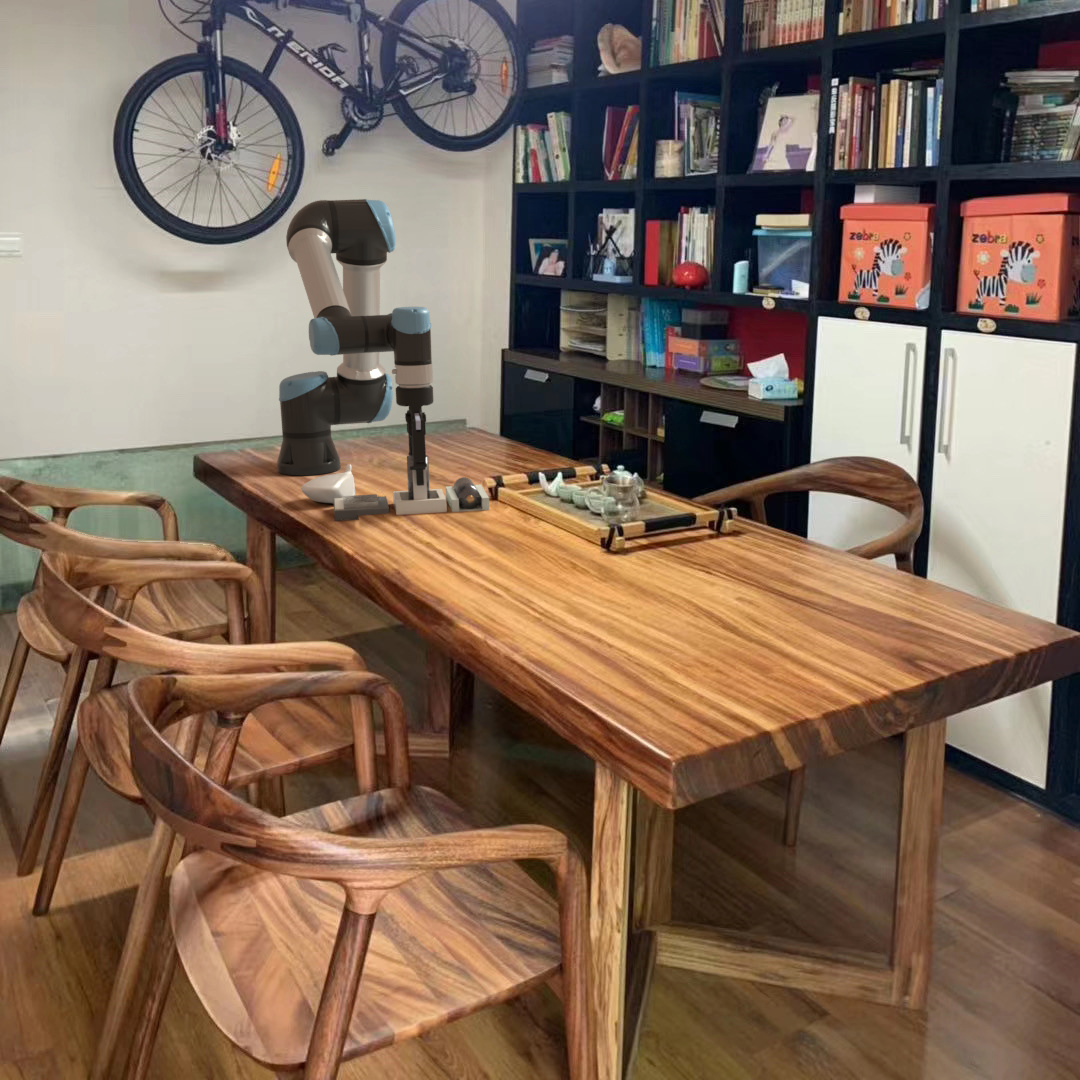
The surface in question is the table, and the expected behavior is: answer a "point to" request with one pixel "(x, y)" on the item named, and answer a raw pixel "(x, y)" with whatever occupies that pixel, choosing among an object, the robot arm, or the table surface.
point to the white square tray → (419, 503)
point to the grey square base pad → (358, 509)
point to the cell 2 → (467, 493)
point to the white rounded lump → (330, 486)
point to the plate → (360, 501)
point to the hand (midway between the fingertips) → (419, 496)
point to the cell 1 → (410, 477)
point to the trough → (457, 507)
